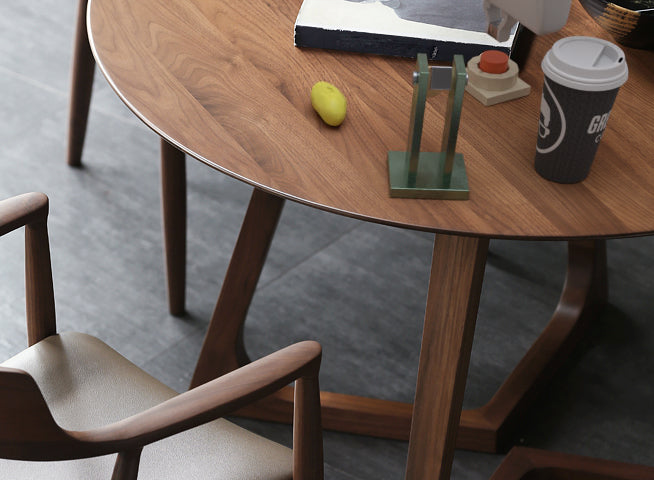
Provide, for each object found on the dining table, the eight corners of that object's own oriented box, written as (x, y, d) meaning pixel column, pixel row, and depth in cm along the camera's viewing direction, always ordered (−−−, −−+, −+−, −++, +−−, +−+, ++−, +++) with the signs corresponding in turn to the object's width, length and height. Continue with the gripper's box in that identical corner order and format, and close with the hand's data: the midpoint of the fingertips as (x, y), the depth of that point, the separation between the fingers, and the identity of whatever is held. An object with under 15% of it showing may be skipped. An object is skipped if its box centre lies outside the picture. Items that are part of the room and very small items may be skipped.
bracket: (386, 159, 129) (398, 44, 119) (461, 162, 129) (479, 47, 119) (389, 197, 124) (402, 80, 114) (468, 200, 124) (487, 83, 114)
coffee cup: (568, 200, 124) (597, 82, 114) (504, 165, 129) (526, 49, 119) (618, 171, 129) (650, 55, 118) (554, 138, 134) (580, 24, 124)
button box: (529, 94, 142) (533, 73, 140) (486, 106, 139) (489, 85, 137) (493, 68, 147) (496, 47, 145) (450, 79, 144) (453, 58, 142)
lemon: (319, 133, 134) (320, 104, 131) (305, 100, 139) (306, 73, 137) (352, 130, 134) (354, 102, 132) (337, 98, 140) (338, 70, 137)
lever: (411, 97, 129) (413, 66, 128) (442, 98, 129) (443, 67, 128) (423, 94, 117) (425, 60, 116) (457, 95, 117) (459, 61, 116)
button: (512, 72, 141) (514, 59, 140) (489, 77, 140) (491, 65, 138) (495, 60, 143) (497, 48, 142) (473, 65, 142) (475, 53, 141)
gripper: (444, -97, 134) (431, 9, 144) (547, -35, 121) (525, 77, 131) (486, -105, 137) (470, 0, 146) (590, -44, 124) (566, 66, 133)
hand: (496, 37), depth 138 cm, fingers closed
